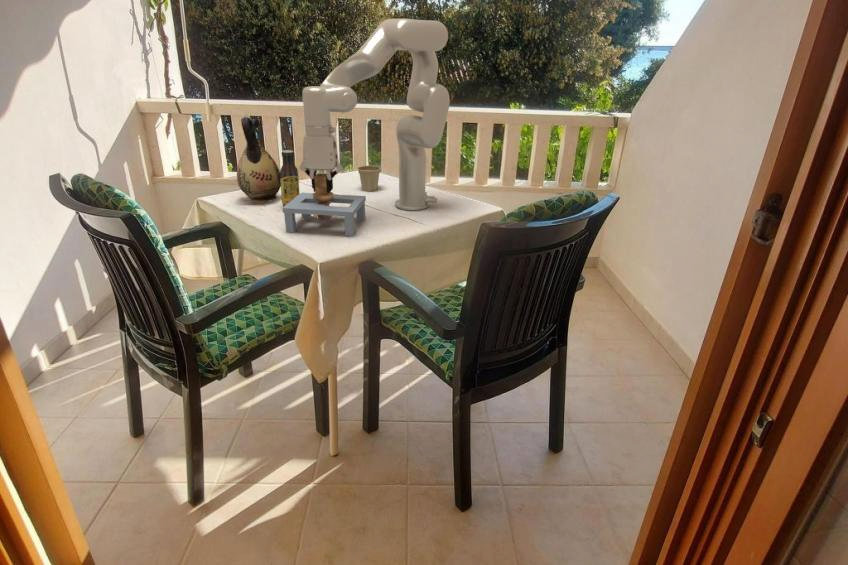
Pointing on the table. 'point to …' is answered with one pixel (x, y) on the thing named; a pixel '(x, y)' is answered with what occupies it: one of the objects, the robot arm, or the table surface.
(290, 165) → the sauce bottle
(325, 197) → the walnut peg
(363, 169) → the flower pot
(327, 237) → the table surface
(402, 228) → the table surface
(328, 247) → the table surface
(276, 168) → the ceramic jug
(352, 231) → the stand
